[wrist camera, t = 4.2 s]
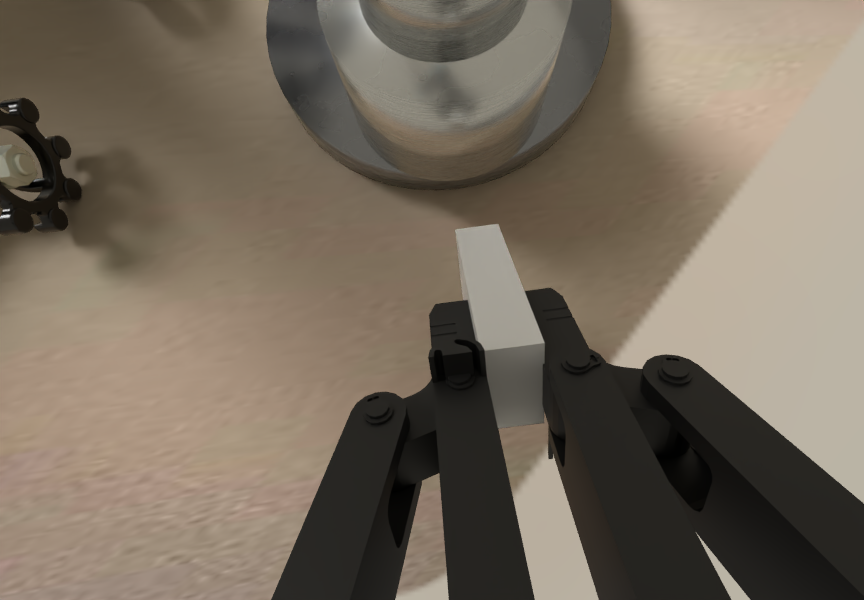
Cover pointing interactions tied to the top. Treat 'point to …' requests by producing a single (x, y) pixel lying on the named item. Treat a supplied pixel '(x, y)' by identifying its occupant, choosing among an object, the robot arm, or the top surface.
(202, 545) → the top surface
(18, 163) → the valve
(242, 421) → the top surface
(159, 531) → the top surface
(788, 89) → the top surface
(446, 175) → the cover
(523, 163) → the grey metal flat disc
